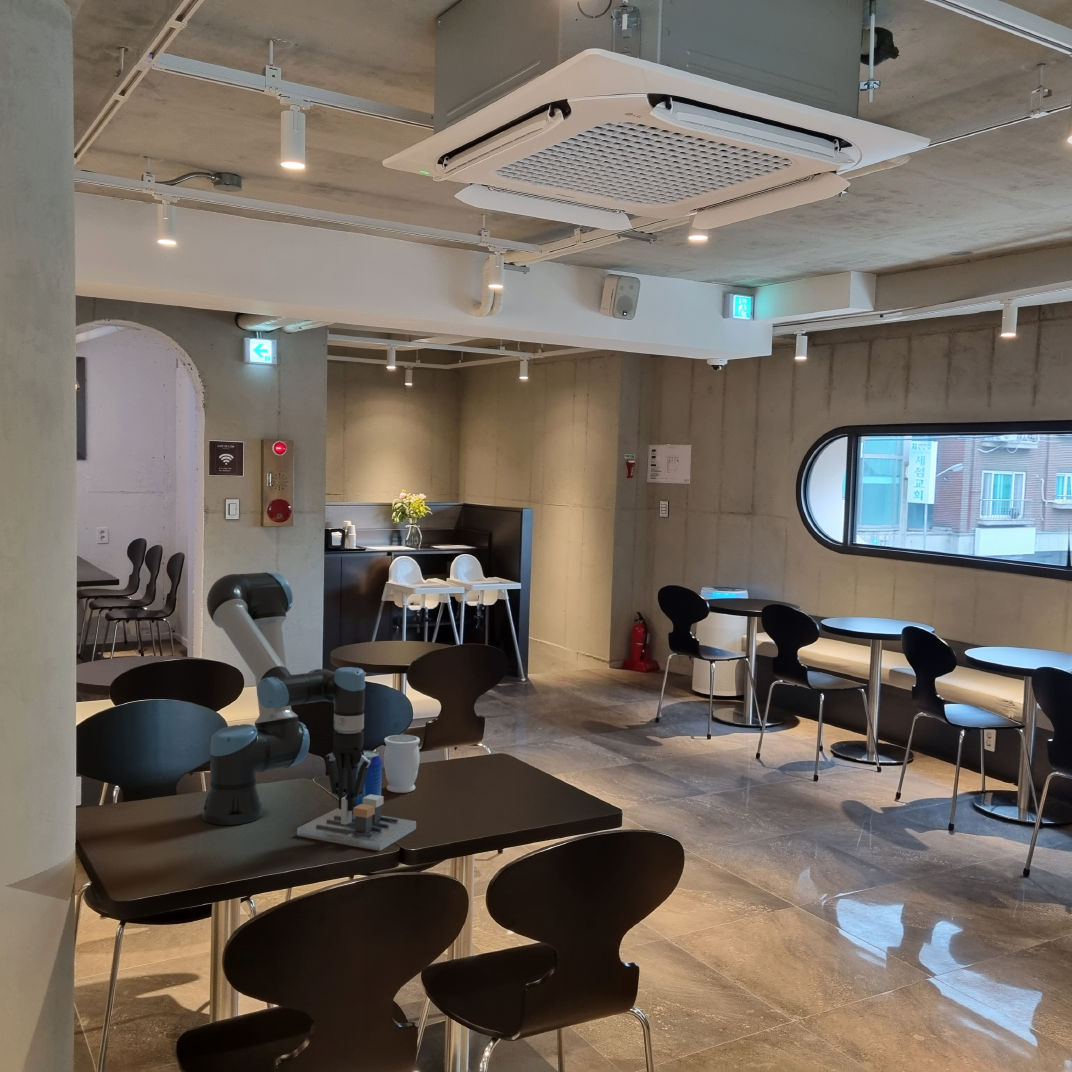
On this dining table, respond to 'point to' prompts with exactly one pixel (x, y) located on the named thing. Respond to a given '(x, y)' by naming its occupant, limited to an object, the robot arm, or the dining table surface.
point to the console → (336, 832)
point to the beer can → (371, 777)
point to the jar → (401, 762)
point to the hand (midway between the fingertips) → (346, 822)
